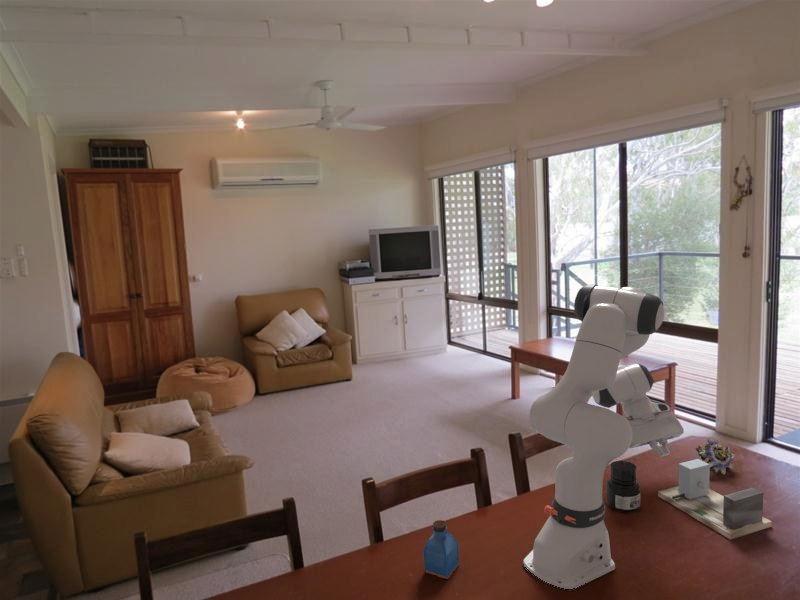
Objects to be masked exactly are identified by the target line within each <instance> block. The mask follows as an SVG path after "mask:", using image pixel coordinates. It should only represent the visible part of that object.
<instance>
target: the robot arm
mask: <svg viewBox="0 0 800 600" xmlns="http://www.w3.org/2000/svg"><path fill="white" fill-rule="evenodd" d="M573 309H574V315H575V316H576V317H577V320H579V321H580V322H581V324H580V326H579V329H578V332H577V333H576V334H577V335H576V339H575V341H574V345H573V348H572V352H571V354H570V355H571V356H570V357H569V362H568V364H567V368H566V370H565V372H564V374H563V376H561V379H560V380H559V382H557V384H556V385H555V386H554V387H553V388H552V389H551V390H549V391H548V392H546V393H545V394H543V395H540V396H538V397H537V398H536V399H535V400H534V401H533V402H532V405H530V408H529V415H528V417H529V419H528V420H529V423H530V426H531V428H532V429H533V430H534V431H535V432H537V433H538V434H540V435H541V436H543V437H545V438H546V439H547V440H551V441H553V442H557V443H560V444H562V445H566V446H568V447H570V448H572V450H573V451H572V452H573V455H572V456H571V457H567V458H564V459H563V460H562V461H560V462H559V463H558V464H557V466H556V468H555V470H554V484H555V485H554V486H555V487H554V488H555V494H554V496H553V500H552V503H551V506H550V505H549V504H548V505H545V506H544V511H543V512H544V514H547V515H549V516H548V519H547V520H546V521H545V523H544V525H542V527H541V530H540V531H539V533H538V534H537V536H536V537H535V540H534V542H533V549H532V550H531V551H530V552H529V553H528V554H527V555H526V556H525V558H523V560H522V561H523V562H522V564H524V565H523V567H524V568H525V567H526V568H527V569H528V570H529V571H530V572H531V573H533V574H534V575H535V576H537V577H538V578H537V577H536V578H537V579H539V578H540V579H541V580H540V579H539V580H540V581H542V580H543V581H542V582H544V581H545V582H544V583H546V582H547V583H546V584H548V583H549V584H548V585H550V584H552V585H554V586H553V587H555V586H557V587H556V588H558V587H560V588H559V589H561V588H564V589H563V590H565V589H573V588H575V589H577V587H578V588H579V586H580V587H582V586H584V585H586V584H588V583H590V582H592V581H594V580H596V579H597V578H600V577H602V576H604V575H607V574H609V573H610V572H612V571H615V569H616V564H615V562H614V560H613V559H612V556H611V545H610V543H611V542H610V535H609V534H610V533H609V531H608V528H607V527H606V524H605V521H604V519H605V512H606V506H605V501H604V499H603V491H604V489H603V488H604V476H605V472H606V470H607V467H608V466H609V464H611V463H612V462H613V460H616V459H617V458H619V457H621V456H623V455H624V454H625V453H626V452H627V451H628V450H629V449H634V448H638V447H643V446H647V445H649V447H650V449H652V450H654V451H655V452H656V453H657V454H658V456H659V457H660V458H661V457H662V458H663V457H665V456H668V455H670V454H671V451H670V449H669V444H668V443H669V442H668V440H671V439H676V438H679V437H680V436H682V435H683V434H684V432H685V431H684V427H683V426H682V424H681V422H680V420H679V419H678V418H677V416H676V415H675V414H674V413H673V412H672V411H671V407H670V406H669V404H666V403H658V402H653V401H651V399H650V398H649V397H648V396H647V393H649V392H650V391H651V390H652V388H653V385H654V378H653V376H652V374H651V372H650V371H649V370H648V368H647V366H644V365H643V364H641V363H637V362H635V363H632V364H629V365H627V364H620V362H621V360H623V358H625V357H627V356H628V355H631V354H632V353H634V352H636V351H638V350H640V349H641V348H642V347H644V346H645V345H646V343H647V342H648V340H649V338H650V335H653V334H654V333H657V331H658V330H659V328H660V327H661V326H662V324H663V322H664V317H665V309H664V303H663V301H662V300H661V299H660V297H658V296H657V295H655V294H652V293H648V292H646V293H644V292H643V290H641V289H640V288H637V287H634V286H623V287H620V286H619V287H617V286H610V285H598V284H585V285H584V286H582V287H581V288H580V289H579V290H578V292H577V293H576V296H575V298H574V304H573ZM591 397H592V399H593V401H594V403H596V404H597V405H595V404H592V403H589V401H590V400H591ZM618 404H620V406H621V407H622V411H623V413H624V414H625V416H626V417H625V416H623V415H621V414H620V413H618V412H615V411H613V410H612V409H610V408H612V407H614V406H616V405H618ZM658 444H659V445H660V446H661V447H660V446H659V445H658ZM526 568H525V569H526ZM527 569H526V570H527ZM528 570H527V571H528ZM529 571H528V572H529ZM530 572H529V573H530ZM531 573H530V574H531ZM533 574H532V575H533ZM534 575H533V576H534ZM535 576H534V577H535ZM585 583H586V584H585ZM552 585H551V586H552ZM581 585H582V586H581ZM573 590H574V589H573Z"/></svg>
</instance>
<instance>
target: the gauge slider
mask: <svg viewBox="0 0 800 600" xmlns="http://www.w3.org/2000/svg"><path fill="white" fill-rule="evenodd" d="M706 462H707V461H706ZM706 462H705V460H704V461H702V460H701V458H700V459H699V458H696V459H695V458H694V459H691V460H689V461H684V462H680V463H678V486H679V489H678V493H679V495H675V496H672V498H673V499H676V498H679V497H683V496H684V497H686V498H688V499H693V498H697V497H701V496H704V495H708V494H709V489H710V476H711V475H710V471H711V470H710V469H711V467H710V464H708V463H706Z"/></svg>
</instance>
